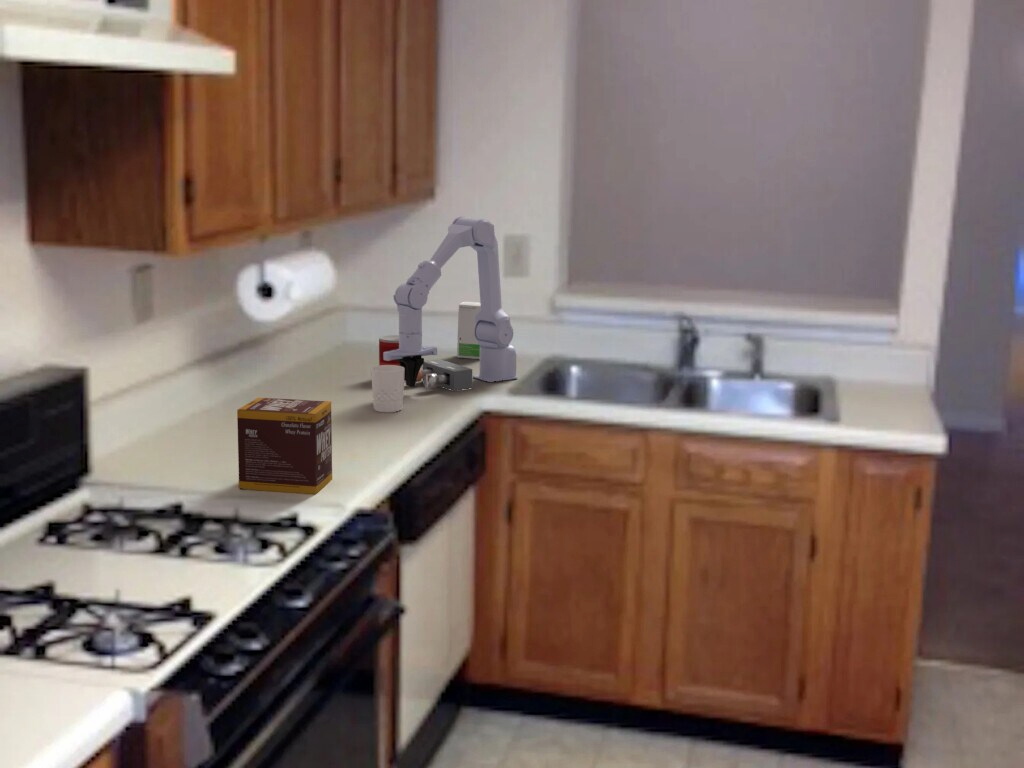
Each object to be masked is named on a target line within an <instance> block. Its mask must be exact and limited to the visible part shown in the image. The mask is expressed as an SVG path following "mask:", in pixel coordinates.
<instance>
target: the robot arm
mask: <svg viewBox="0 0 1024 768" xmlns="http://www.w3.org/2000/svg"><path fill="white" fill-rule="evenodd" d="M495 234H496V233H495V225H494V224H493V223H492V222H490V221H489V220H487V219H485V218H473V217H465V216H458V217H456V218H455V219H454V220H453V221H452V223H450V225H449V226H448V227H447V235H445V237H444V239H443V240H442V242H441V243H440V245H439V246H438V247H437V249H436V251H435V252H434V254H433V255H431V256H432V257H431V258H430V260H423V261H421V262H419V264H418V265H417V268H416V269H415V271H413V273H412V275H411V276H410V277H408V279H407V281H406V283H402V284H400V285H399V286H398V287H397V288H396V290H395V292H394V293H395V294H394V295H393V300H394V303H395V304H396V308H397V312H398V335H399V349H397V350H392V351H388V352H383V360H386V361H391V360H394V359H397V361H398V363H399V365H400V366H402V367H404V368H405V372H404V377H405V381H404V382H405V386H406V387H409V388H414V387H415V386H416V383H417V382H416V379H417V376H418V373H419V370H421V368H422V367H423V363H424V361H425V358H424V357H427V356H438V347H437V346H432V345H431V346H423V307H424V306H425V305H426V304H427V301H428V296H429V294H430V290H431V289H432V288H433V287H434V285H435V284H436V283H437V281H439V280H440V278H441V276H442V270H441V269H442V268H443V267H444V266H445V265H446V264H447V262H449V260H450V259H451V258H452V257H453V256H454V255H455V254H456V253H457V251H458V250H459V249H461V248H465V247H471V248H472V249H473V250H474V251H475V252H476V253H477V254H476V255H477V256H476V257H477V271H478V273H477V274H478V286H479V300H480V302H479V303H480V304H481V311H480V312H479V313H478V314H477V315H476V316H475V326H474V337H475V339H476V340H477V341H478V345H480V359H479V369H478V370H479V372H478V373H479V374H475V375H473V374H472V378H474V379H477V380H481V381H484V382H486V381H487V383H495V382H494V381H496V382H502V380H503V381H509V380H510V381H511V380H516V379H518V378H519V377H518V376H517V352H516V349H515V347H514V345H512V344H511V343H512V341H513V339H514V328H513V326H512V324H511V318H510V316H509V315H508V314H507V312H505V310H504V309H503V307H502V290H501V277H500V261H499V260H500V259H499V257H500V255H499V244H498V240H497V238H496V235H495ZM406 355H407V356H406Z"/></svg>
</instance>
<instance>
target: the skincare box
mask: <svg viewBox="0 0 1024 768" xmlns="http://www.w3.org/2000/svg"><path fill="white" fill-rule="evenodd" d="M480 311H481V304H480V302H478V301H477V302H476V301H462V302H461V303H459V304H458V317H457V319H458V320H457V343H456V344H457V347H456V357H457V358H458V359H459V358H461V359H473V360H480V345H478V341H477V340H476V339H475V337H474V326H475V316H476V315H477V314H478V313H479V312H480Z"/></svg>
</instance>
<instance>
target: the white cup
mask: <svg viewBox="0 0 1024 768" xmlns="http://www.w3.org/2000/svg"><path fill="white" fill-rule="evenodd" d="M404 372H405V368H404V367H402V366H397V365H380V366H379V365H375V366H372V367H370V373H371V391H372V399H373V410H374V411H376V412H379V413H396V411H398V412H400V411H399V410H401V411H402V410H403V406H404V405H403V403H404V401H403V400H404V391H405V381H404Z"/></svg>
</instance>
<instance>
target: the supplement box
mask: <svg viewBox="0 0 1024 768" xmlns="http://www.w3.org/2000/svg"><path fill="white" fill-rule="evenodd" d="M236 411H237V413H236V414H237V418H236V419H237V453H238V454H237V455H238V457H237V459H238V489H239V488H243V489H242V490H247V489H253V490H252V491H261V490H262V491H261V492H264V491H265V492H274V493H275V492H276V493H277V492H278V493H292V494H303V495H317V494H318V493H319V492H320V491H321V490H322V489H323V488H324V487H326V486H327V485H328V484H329V483H330V482H331V481H332V480H333V447H332V445H333V441H332V440H333V439H332V436H333V435H332V434H333V433H332V401H331V400H330V401H328V400H307V399H306V400H305V399H291V398H271V397H257V398H255V399H253V400H252V401H250V402H248V403H246V404H244V405H243V406H241V407H239V408H238V409H236Z"/></svg>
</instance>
